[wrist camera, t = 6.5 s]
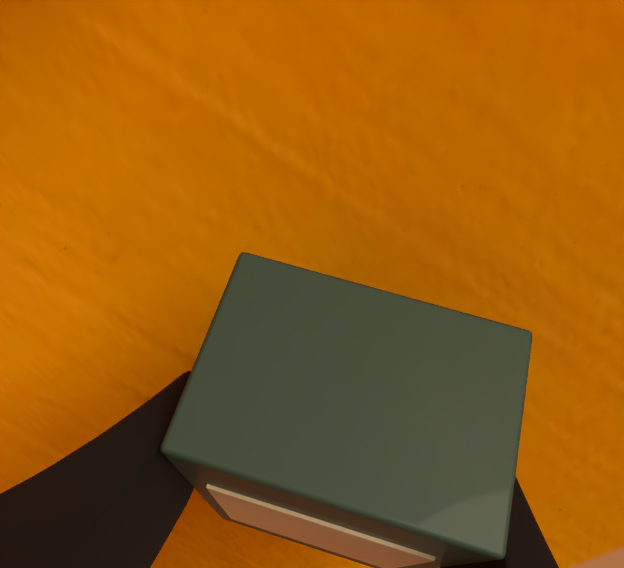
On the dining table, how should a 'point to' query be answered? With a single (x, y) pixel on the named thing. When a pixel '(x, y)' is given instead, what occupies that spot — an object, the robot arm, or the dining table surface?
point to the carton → (354, 419)
